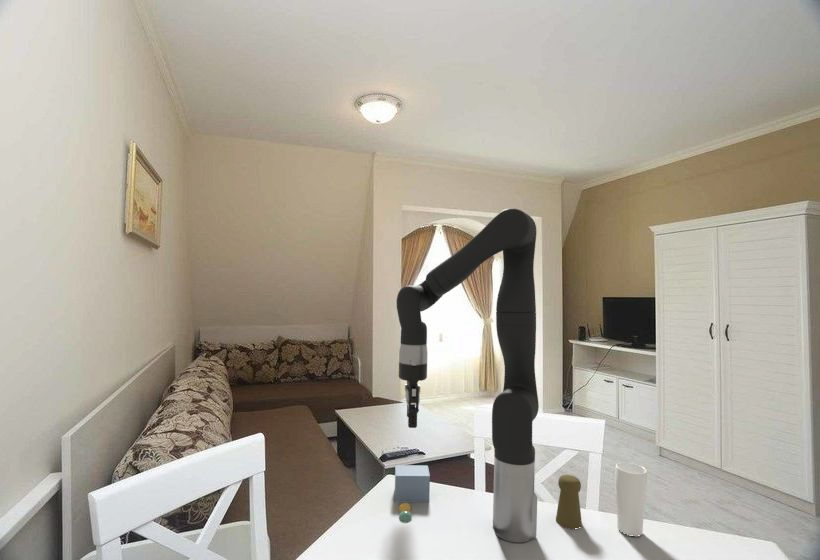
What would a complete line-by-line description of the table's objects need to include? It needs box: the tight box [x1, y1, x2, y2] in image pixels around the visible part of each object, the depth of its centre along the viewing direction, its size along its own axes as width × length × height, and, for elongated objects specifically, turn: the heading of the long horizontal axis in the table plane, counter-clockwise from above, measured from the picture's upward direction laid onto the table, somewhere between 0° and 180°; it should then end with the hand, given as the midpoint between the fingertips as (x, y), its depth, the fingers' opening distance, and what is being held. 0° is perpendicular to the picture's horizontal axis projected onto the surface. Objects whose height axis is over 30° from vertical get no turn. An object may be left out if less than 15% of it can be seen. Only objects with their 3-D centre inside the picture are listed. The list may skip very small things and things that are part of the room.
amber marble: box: [398, 502, 412, 513], centre depth 106 cm, size 3×3×3 cm
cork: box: [555, 474, 583, 530], centre depth 105 cm, size 6×6×11 cm
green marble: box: [398, 511, 413, 522], centre depth 102 cm, size 3×3×3 cm
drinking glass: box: [614, 461, 648, 536], centre depth 101 cm, size 7×7×15 cm
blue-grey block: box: [394, 464, 431, 503], centre depth 113 cm, size 9×6×8 cm
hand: (411, 422), depth 114 cm, fingers open, 8 cm apart
